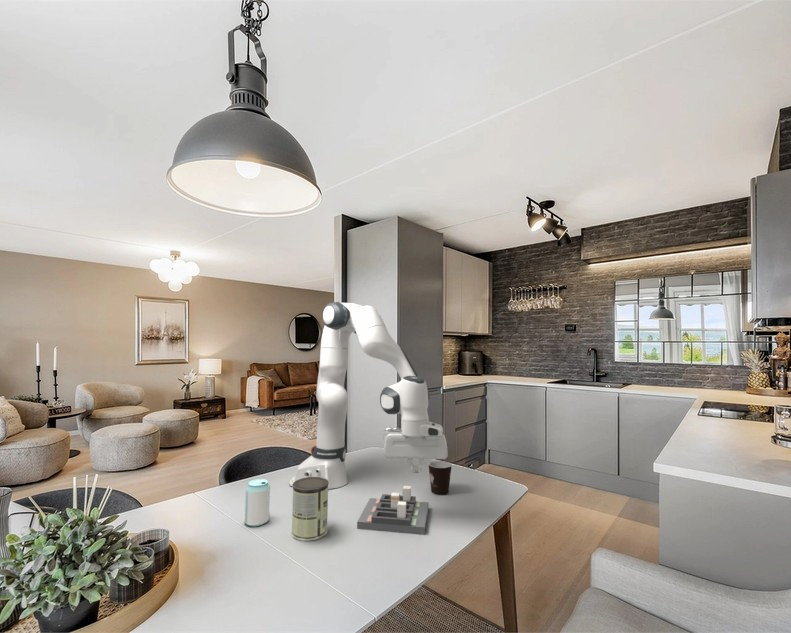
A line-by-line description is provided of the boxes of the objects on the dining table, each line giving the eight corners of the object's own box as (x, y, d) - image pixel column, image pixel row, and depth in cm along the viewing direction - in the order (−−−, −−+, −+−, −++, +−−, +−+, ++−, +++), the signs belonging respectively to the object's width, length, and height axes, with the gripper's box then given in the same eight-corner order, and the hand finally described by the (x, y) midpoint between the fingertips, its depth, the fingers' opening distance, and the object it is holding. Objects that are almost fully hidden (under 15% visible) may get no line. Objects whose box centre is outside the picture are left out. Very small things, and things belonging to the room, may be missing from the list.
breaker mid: (390, 511, 122) (390, 495, 123) (391, 508, 125) (391, 492, 125) (398, 512, 122) (398, 496, 122) (399, 509, 124) (399, 493, 125)
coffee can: (292, 525, 117) (294, 477, 118) (327, 523, 119) (328, 475, 120) (289, 542, 107) (291, 490, 108) (327, 540, 109) (328, 488, 110)
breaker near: (397, 521, 115) (397, 504, 116) (398, 518, 118) (398, 501, 118) (405, 522, 115) (405, 505, 115) (406, 518, 117) (406, 501, 118)
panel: (357, 528, 116) (357, 516, 116) (370, 503, 134) (370, 493, 134) (424, 534, 113) (424, 521, 113) (428, 508, 131) (428, 497, 131)
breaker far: (402, 504, 128) (403, 488, 129) (403, 501, 131) (403, 485, 131) (410, 504, 128) (410, 488, 128) (410, 501, 130) (411, 486, 131)
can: (262, 515, 124) (263, 476, 125) (272, 522, 119) (274, 482, 120) (240, 521, 119) (242, 481, 120) (250, 530, 114) (252, 487, 115)
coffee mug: (452, 496, 141) (452, 468, 142) (429, 496, 141) (429, 467, 142) (449, 484, 153) (449, 458, 153) (427, 484, 153) (427, 458, 153)
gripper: (381, 429, 122) (382, 474, 122) (446, 430, 120) (448, 476, 119) (384, 425, 129) (385, 468, 128) (447, 425, 126) (448, 469, 125)
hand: (416, 472), depth 123 cm, fingers closed
